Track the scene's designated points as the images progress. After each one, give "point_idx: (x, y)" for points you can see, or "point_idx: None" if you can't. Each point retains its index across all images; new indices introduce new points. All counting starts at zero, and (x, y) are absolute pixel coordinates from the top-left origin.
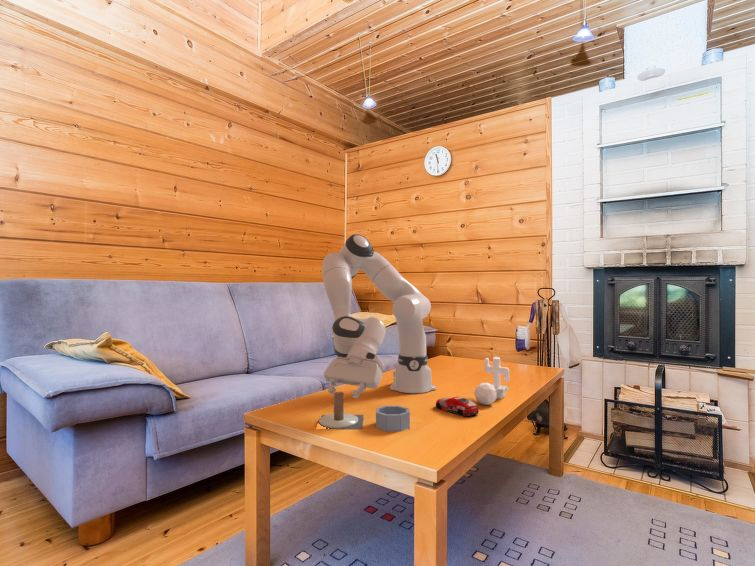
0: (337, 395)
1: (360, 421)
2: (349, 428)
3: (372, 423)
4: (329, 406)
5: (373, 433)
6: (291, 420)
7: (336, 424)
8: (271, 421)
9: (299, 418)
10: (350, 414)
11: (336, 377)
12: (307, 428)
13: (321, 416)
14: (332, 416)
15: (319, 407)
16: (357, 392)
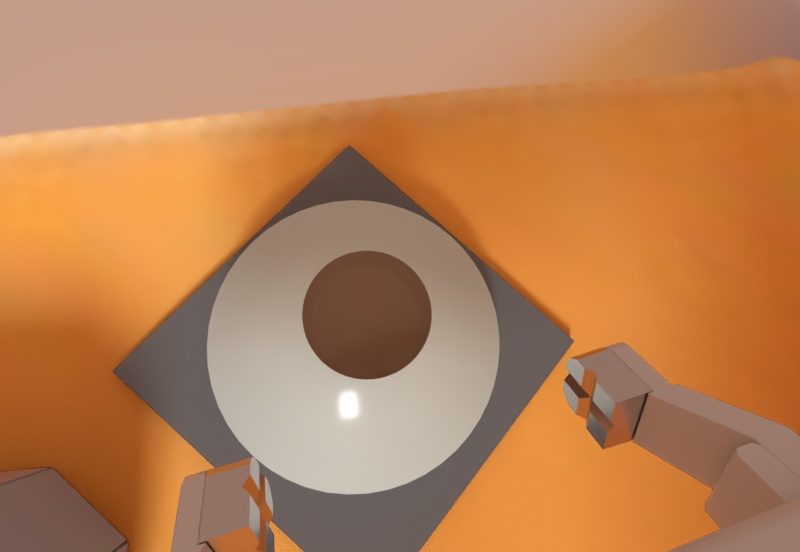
0: (328, 265)
1: None
2: (196, 309)
3: None
4: None
5: (8, 391)
6: (602, 163)
7: (272, 250)
8: (649, 80)
9: (609, 216)
10: (387, 481)
11: (759, 518)
12: (416, 145)
13: (542, 325)
14: (438, 338)
15: None
16: (179, 536)
